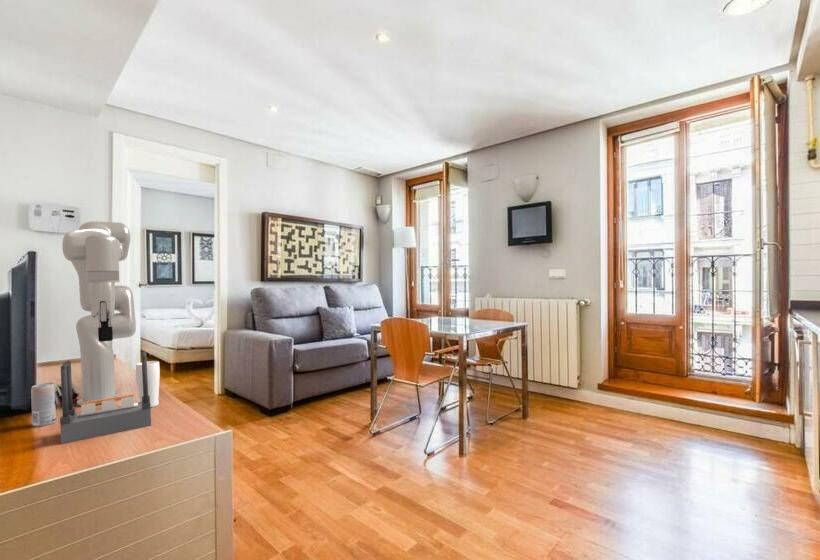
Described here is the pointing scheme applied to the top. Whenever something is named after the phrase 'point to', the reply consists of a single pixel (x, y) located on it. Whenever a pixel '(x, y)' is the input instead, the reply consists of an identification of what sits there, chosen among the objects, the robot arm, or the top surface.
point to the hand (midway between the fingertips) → (105, 340)
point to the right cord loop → (145, 383)
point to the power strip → (105, 423)
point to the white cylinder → (149, 381)
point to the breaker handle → (107, 405)
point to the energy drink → (43, 404)
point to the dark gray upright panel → (66, 394)
